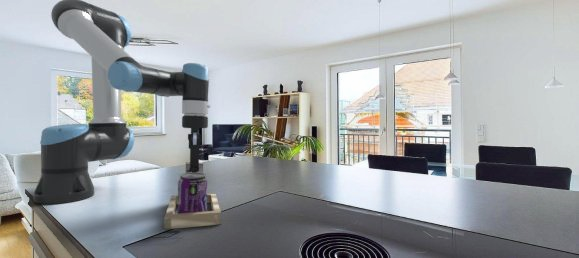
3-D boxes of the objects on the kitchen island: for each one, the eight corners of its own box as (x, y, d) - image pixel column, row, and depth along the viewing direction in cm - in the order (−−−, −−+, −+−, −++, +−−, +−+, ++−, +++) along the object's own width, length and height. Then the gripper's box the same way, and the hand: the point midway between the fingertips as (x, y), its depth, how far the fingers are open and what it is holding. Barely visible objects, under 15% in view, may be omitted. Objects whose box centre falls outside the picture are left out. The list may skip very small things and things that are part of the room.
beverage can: (199, 226, 68) (200, 178, 67) (172, 224, 68) (172, 176, 68) (210, 216, 75) (211, 172, 74) (185, 215, 75) (186, 171, 75)
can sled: (171, 203, 84) (172, 162, 84) (215, 200, 89) (215, 161, 88) (164, 229, 65) (164, 176, 64) (221, 224, 69) (222, 174, 68)
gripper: (209, 115, 78) (207, 197, 79) (207, 115, 93) (205, 184, 94) (180, 114, 76) (179, 199, 76) (183, 115, 91) (182, 185, 91)
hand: (194, 191), depth 85 cm, fingers closed on can sled, 3 cm apart
